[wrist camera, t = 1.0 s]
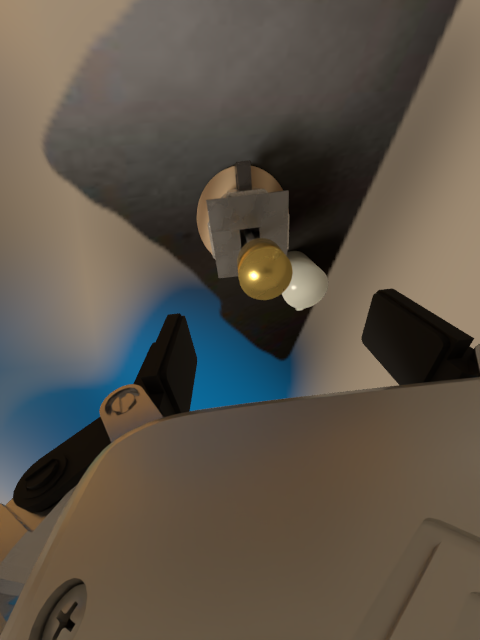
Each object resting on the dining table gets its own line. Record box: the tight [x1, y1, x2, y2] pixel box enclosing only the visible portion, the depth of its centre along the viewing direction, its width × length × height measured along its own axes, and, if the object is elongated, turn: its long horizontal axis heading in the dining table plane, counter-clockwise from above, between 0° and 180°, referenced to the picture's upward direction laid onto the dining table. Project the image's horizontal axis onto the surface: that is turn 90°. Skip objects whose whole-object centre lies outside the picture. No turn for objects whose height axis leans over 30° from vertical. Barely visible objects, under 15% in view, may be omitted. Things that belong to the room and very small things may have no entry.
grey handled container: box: [206, 161, 289, 278], centre depth 30 cm, size 10×13×13 cm
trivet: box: [197, 166, 289, 255], centre depth 37 cm, size 16×16×1 cm
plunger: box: [237, 227, 293, 300], centre depth 23 cm, size 8×8×18 cm
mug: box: [282, 251, 328, 310], centre depth 39 cm, size 8×9×9 cm
